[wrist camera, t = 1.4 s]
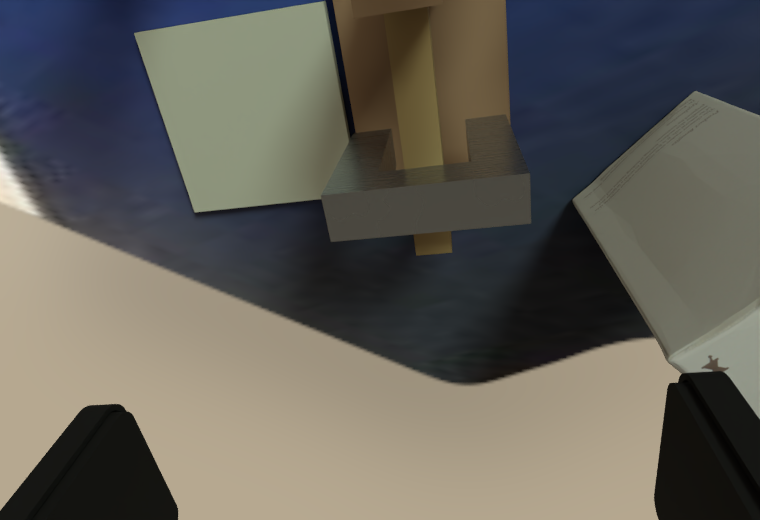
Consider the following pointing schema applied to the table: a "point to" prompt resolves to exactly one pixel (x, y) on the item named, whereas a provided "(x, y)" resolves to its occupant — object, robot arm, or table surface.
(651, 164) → the skincare box
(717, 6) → the table surface
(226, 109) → the mat
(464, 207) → the grey u-shaped block
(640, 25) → the table surface
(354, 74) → the stand
